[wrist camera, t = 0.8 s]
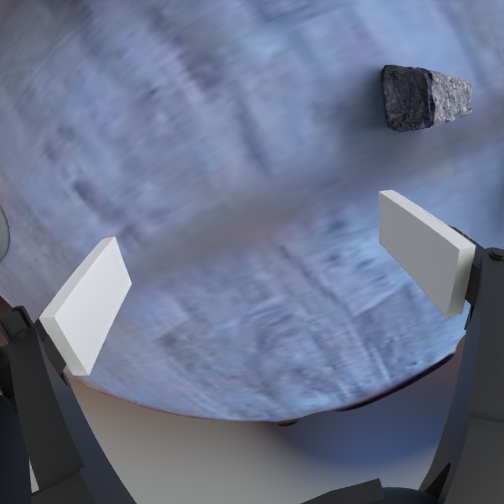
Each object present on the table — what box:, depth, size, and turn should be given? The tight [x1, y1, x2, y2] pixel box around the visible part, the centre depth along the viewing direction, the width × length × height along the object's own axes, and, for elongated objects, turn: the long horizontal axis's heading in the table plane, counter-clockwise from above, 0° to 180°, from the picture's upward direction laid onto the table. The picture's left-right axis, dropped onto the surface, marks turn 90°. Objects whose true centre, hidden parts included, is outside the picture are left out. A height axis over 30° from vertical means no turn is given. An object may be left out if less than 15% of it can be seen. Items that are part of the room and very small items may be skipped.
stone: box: [382, 65, 472, 132], centre depth 32 cm, size 12×10×10 cm
